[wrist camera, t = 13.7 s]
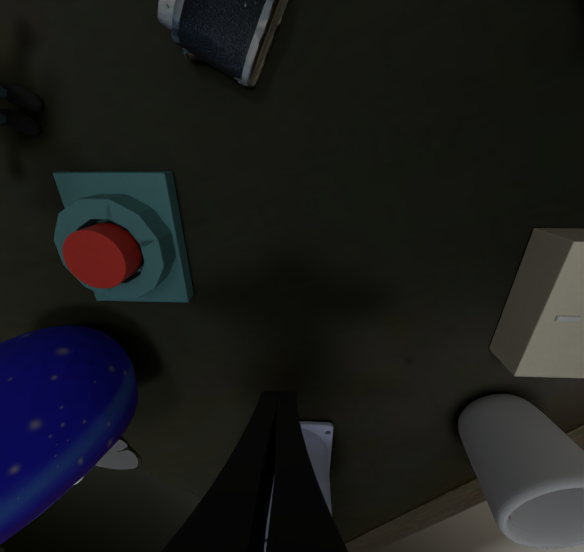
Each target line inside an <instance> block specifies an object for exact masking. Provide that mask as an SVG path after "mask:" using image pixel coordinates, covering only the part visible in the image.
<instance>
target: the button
mask: <svg viewBox="0 0 584 552" xmlns="http://www.w3.org/2000/svg"><path fill="white" fill-rule="evenodd" d="M62 253H63V258H64V261H65V263H66V265H67V267H68V269H69V270H70V271H71V272H72V274H73V275H74V276H75V277H76V278H78V279H79V280H80V281H82V282H83V283H85V284H87V285H89V286H92V287H95V288H102V289H106V288H112V287H115V286H117V285H119V284H120V283H121V282H123V281H124V280H126V279H127V278H128V277H130V276H131V275H132V274H134V273H135V272H136V271H137V270H138V269H139V267H140V265H141V261H142V254H141V250H140V247H139V245H138V243H137V241H136V240H135V238H134V237H133V236H132V235H131V234H130V233H129V232H128V231H126V230H125V229H124V228H122V227H120V226H118V225H115V224H111V223H98V224H95V225H92V226H89V227H86V228H83V229H81V230H78V231H75V232H73V233H71V234H70V235H69V236H68V237H67V238H66V239H65V241H64V243H63V248H62Z"/></svg>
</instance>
